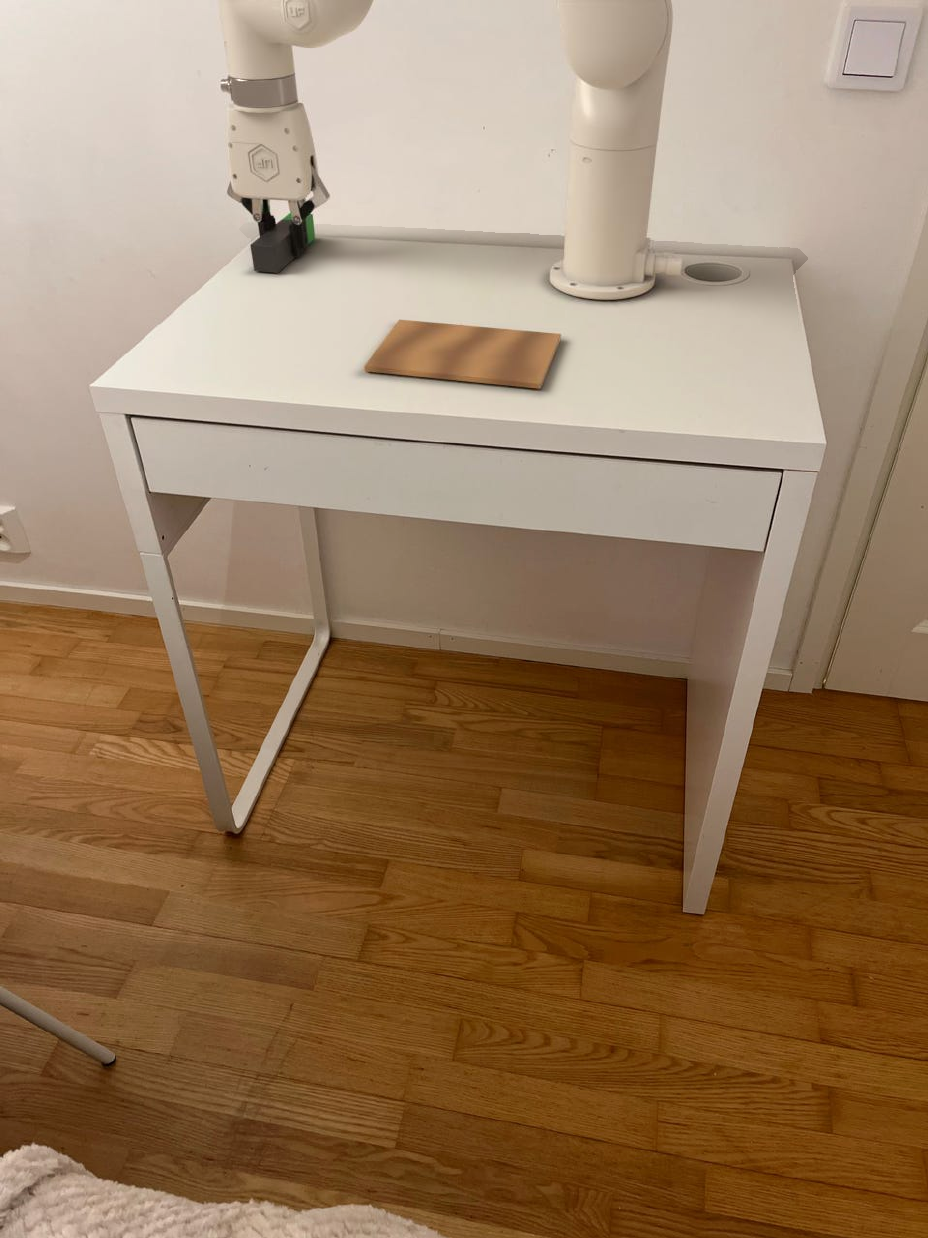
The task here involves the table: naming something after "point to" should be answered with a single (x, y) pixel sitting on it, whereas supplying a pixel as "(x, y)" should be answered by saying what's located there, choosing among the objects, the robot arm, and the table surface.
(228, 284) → the table surface
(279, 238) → the marker
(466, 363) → the wooden board
